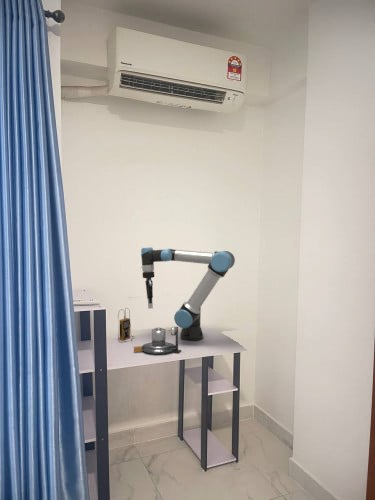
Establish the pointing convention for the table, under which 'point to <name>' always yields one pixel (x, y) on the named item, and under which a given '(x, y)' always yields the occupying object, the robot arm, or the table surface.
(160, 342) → the cover
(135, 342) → the table surface
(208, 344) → the table surface
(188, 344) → the table surface
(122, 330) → the multimeter
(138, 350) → the turntable
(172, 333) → the indicator
